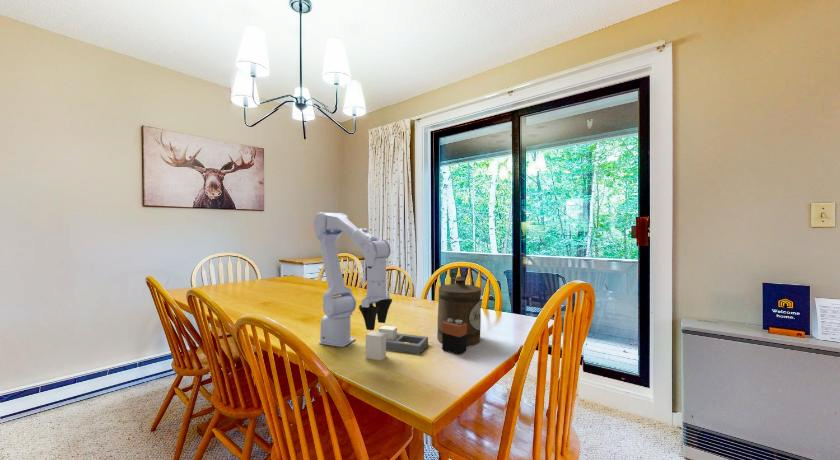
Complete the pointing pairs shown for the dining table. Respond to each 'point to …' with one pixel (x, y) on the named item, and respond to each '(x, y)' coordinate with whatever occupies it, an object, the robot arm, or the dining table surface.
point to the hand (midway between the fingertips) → (376, 326)
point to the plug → (375, 345)
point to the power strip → (403, 341)
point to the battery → (454, 336)
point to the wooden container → (460, 308)
